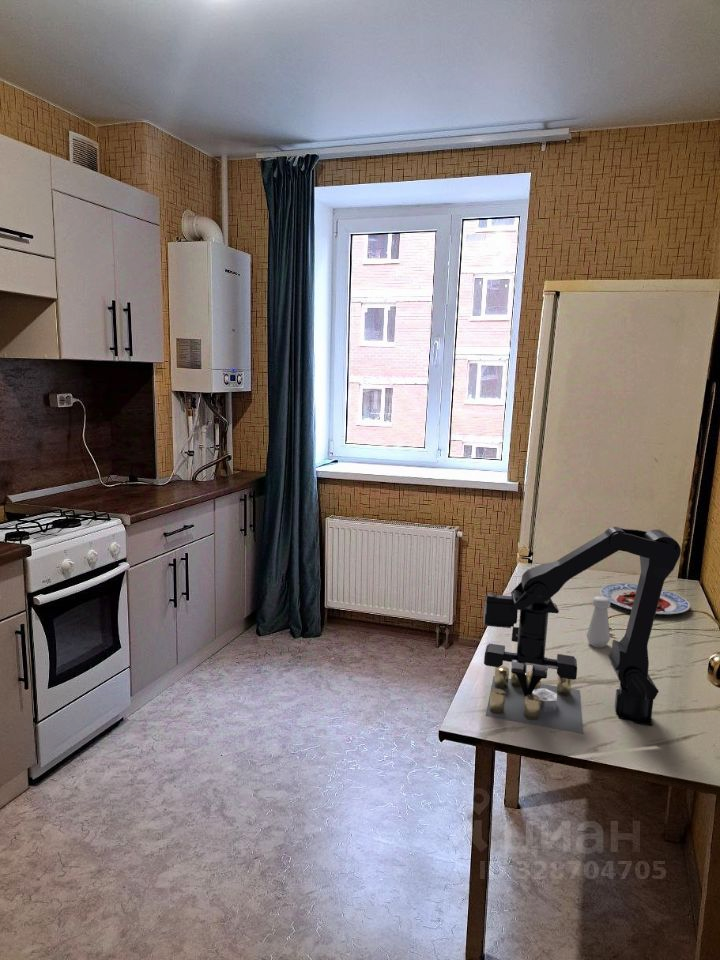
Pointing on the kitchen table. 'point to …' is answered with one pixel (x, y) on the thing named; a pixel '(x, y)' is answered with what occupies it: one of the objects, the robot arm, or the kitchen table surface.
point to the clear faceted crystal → (546, 699)
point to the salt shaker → (599, 623)
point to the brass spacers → (530, 700)
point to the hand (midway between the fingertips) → (526, 697)
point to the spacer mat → (562, 718)
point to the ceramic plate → (626, 594)
